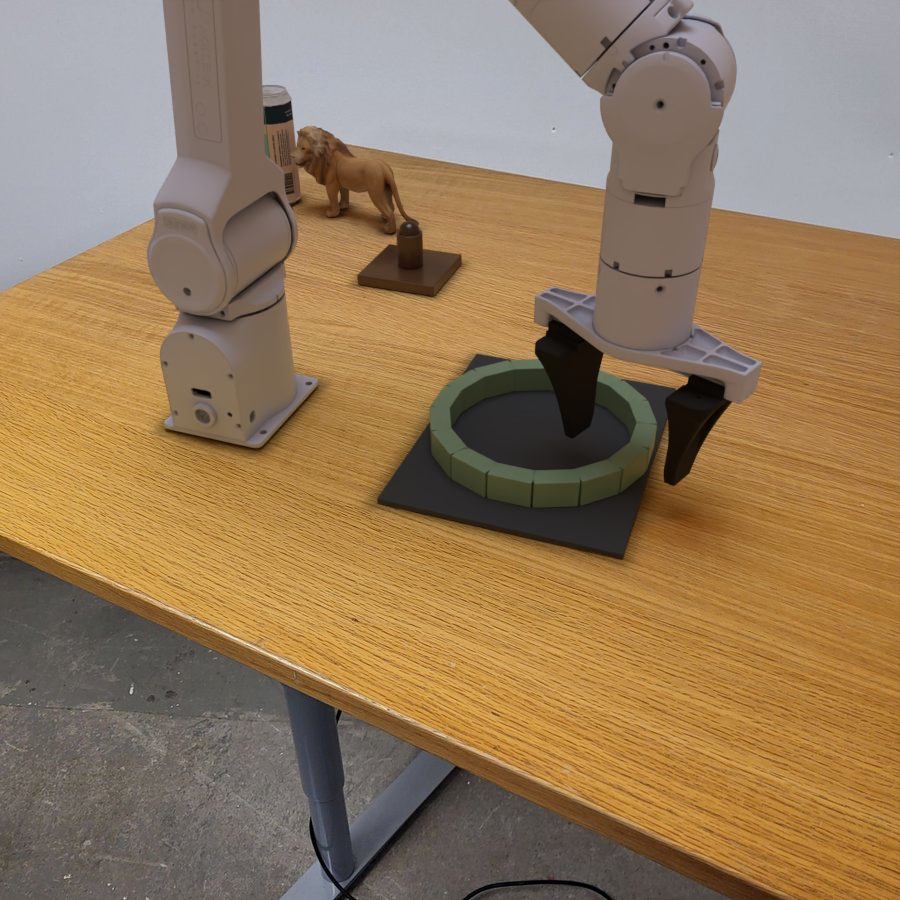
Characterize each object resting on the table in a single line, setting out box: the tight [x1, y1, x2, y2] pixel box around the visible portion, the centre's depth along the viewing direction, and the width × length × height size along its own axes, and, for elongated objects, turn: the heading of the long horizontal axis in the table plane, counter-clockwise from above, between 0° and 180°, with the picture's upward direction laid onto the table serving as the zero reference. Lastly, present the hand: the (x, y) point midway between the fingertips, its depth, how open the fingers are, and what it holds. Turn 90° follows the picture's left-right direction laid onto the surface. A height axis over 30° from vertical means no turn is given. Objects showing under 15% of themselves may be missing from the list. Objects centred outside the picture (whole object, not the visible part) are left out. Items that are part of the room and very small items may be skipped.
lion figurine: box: [290, 125, 420, 234], centre depth 98 cm, size 15×5×9 cm, turn 62°
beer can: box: [262, 84, 302, 206], centre depth 101 cm, size 5×5×12 cm
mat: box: [376, 353, 677, 560], centre depth 66 cm, size 20×16×1 cm
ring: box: [429, 358, 657, 508], centre depth 65 cm, size 15×15×2 cm
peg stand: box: [356, 220, 463, 297], centre depth 87 cm, size 8×8×5 cm
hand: (625, 453), depth 60 cm, fingers open, 7 cm apart
